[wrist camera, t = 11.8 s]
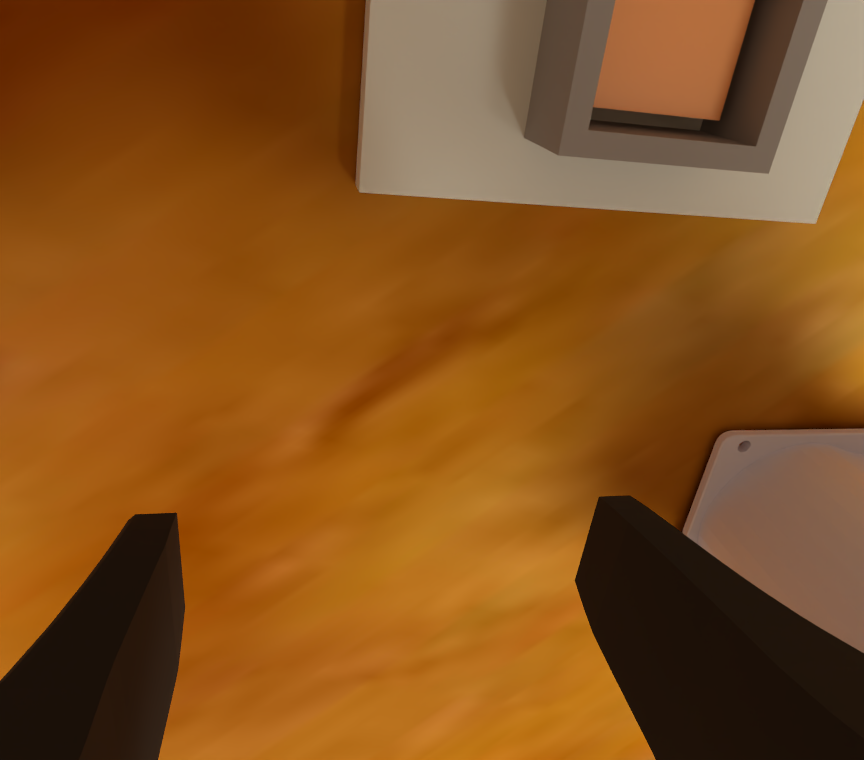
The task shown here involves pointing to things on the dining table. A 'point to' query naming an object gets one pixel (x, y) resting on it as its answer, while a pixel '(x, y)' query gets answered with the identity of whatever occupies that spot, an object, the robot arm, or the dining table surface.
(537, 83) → the panel
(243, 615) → the dining table surface
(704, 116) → the button
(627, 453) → the dining table surface
